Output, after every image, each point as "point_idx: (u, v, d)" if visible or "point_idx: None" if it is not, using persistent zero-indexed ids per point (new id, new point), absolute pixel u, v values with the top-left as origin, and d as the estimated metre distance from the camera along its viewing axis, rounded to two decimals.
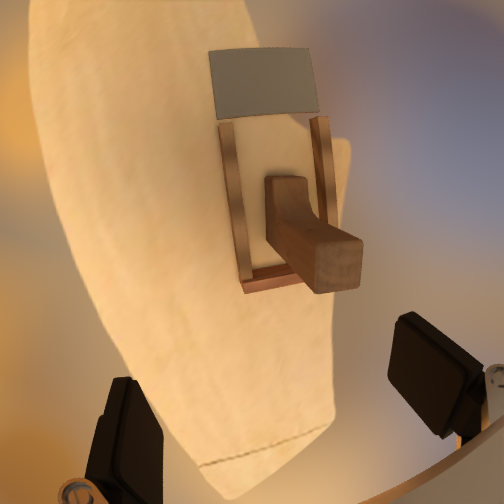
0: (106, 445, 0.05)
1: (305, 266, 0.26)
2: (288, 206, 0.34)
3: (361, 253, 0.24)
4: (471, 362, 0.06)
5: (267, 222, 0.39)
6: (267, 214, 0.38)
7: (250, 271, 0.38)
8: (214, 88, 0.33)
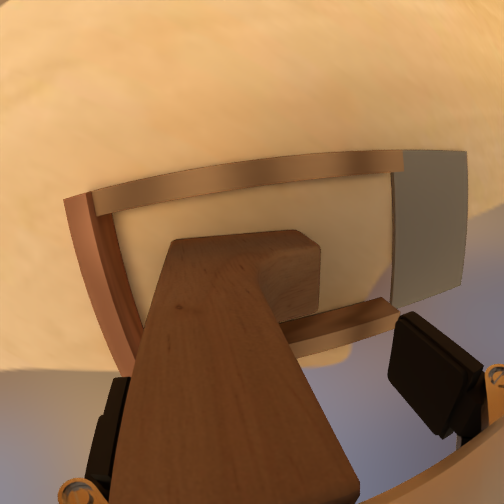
0: (106, 445, 0.05)
1: (197, 423, 0.05)
2: (272, 283, 0.16)
3: None
4: (471, 362, 0.06)
5: (214, 239, 0.19)
6: (231, 238, 0.19)
7: (111, 209, 0.15)
8: (429, 151, 0.21)
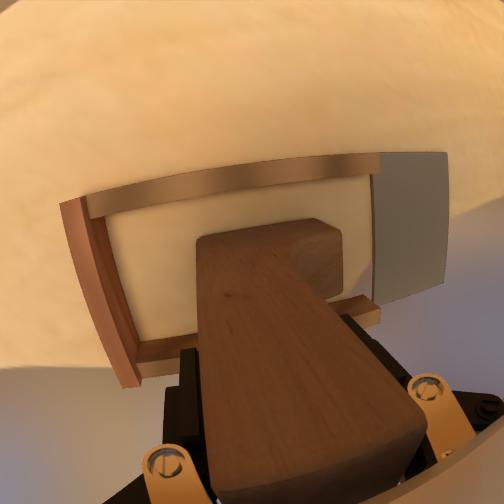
0: (190, 408, 0.07)
1: (279, 388, 0.06)
2: (301, 268, 0.16)
3: None
4: (393, 370, 0.07)
5: (239, 233, 0.20)
6: (255, 230, 0.20)
7: (103, 212, 0.16)
8: (408, 153, 0.22)
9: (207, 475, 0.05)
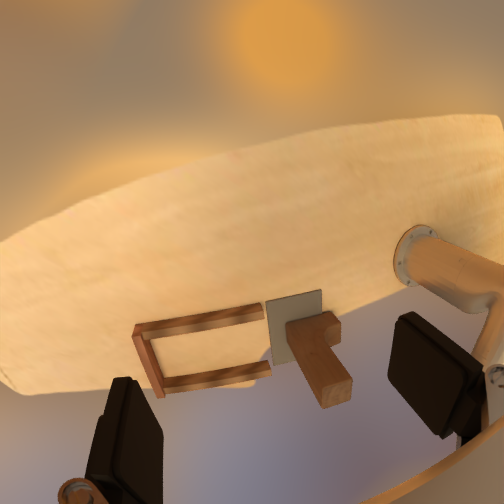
0: (106, 445, 0.05)
1: (328, 374, 0.36)
2: (326, 337, 0.46)
3: (343, 401, 0.35)
4: (471, 362, 0.06)
5: (302, 321, 0.50)
6: (309, 320, 0.50)
7: (149, 338, 0.44)
8: (290, 297, 0.49)
9: None
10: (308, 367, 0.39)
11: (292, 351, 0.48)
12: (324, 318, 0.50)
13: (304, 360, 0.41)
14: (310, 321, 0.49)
